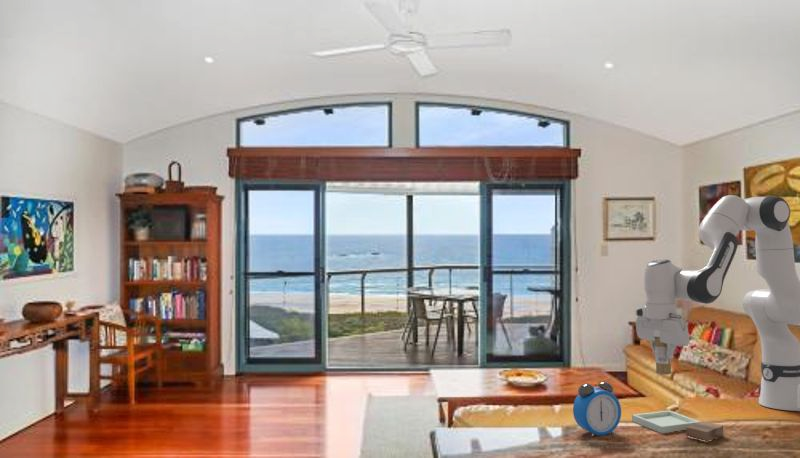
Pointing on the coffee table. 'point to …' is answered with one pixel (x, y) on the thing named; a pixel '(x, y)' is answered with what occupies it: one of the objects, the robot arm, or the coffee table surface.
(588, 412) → the alarm clock
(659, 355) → the sprinkles bottle
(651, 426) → the dish
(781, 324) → the robot arm
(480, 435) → the coffee table surface
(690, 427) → the walnut block
